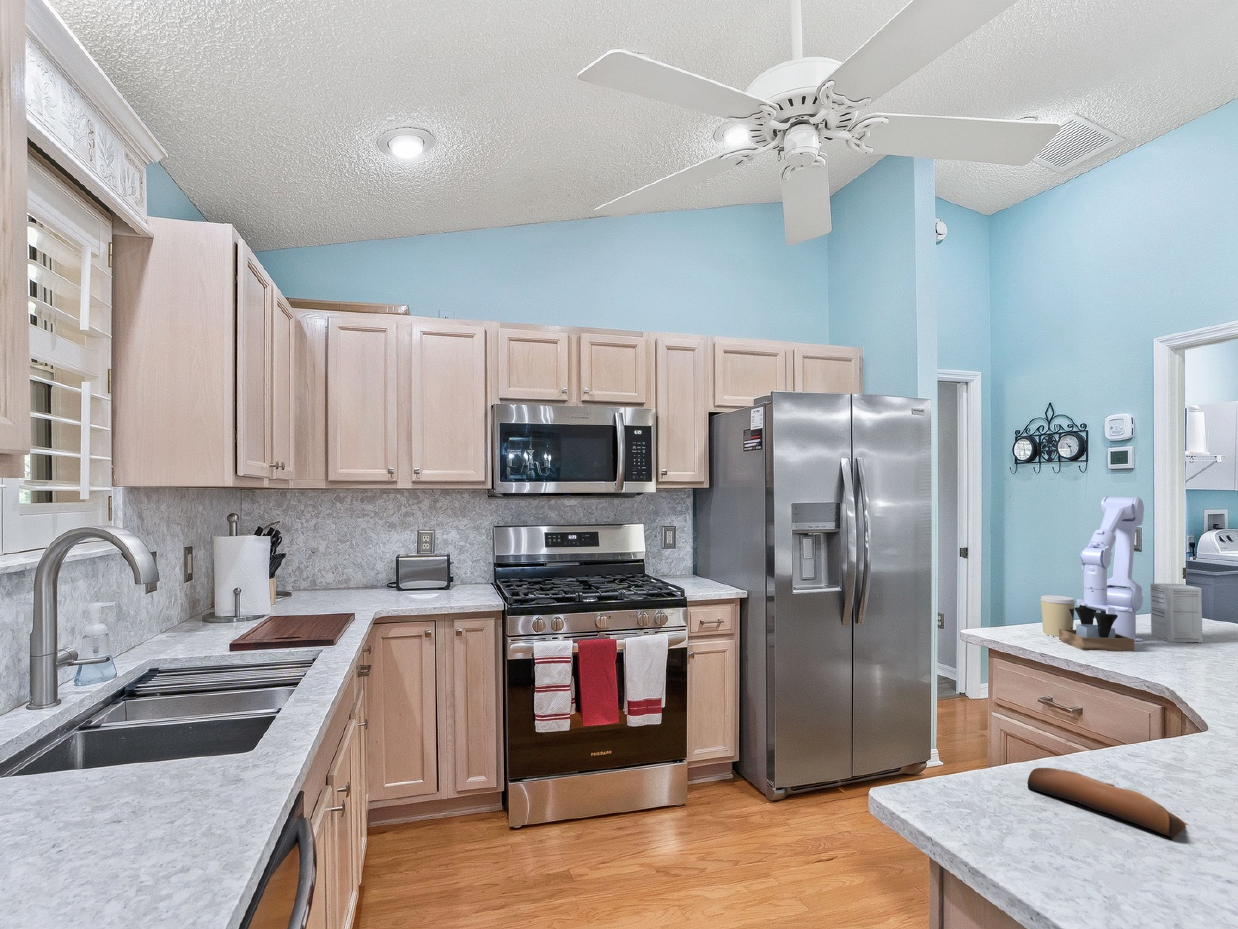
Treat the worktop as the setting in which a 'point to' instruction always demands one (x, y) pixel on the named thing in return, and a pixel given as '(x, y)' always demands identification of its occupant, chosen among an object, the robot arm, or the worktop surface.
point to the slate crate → (1091, 631)
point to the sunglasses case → (1106, 799)
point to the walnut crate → (1096, 641)
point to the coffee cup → (1057, 613)
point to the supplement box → (1176, 612)
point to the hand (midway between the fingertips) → (1095, 634)
